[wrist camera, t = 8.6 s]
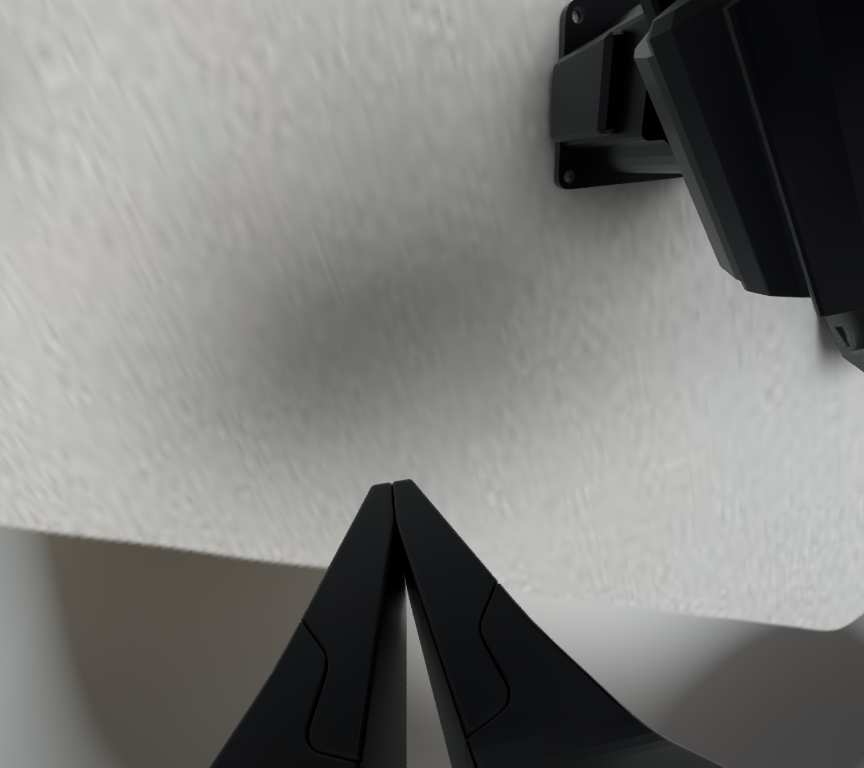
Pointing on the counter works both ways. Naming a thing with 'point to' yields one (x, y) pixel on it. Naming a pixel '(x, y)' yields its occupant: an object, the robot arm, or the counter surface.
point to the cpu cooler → (849, 335)
